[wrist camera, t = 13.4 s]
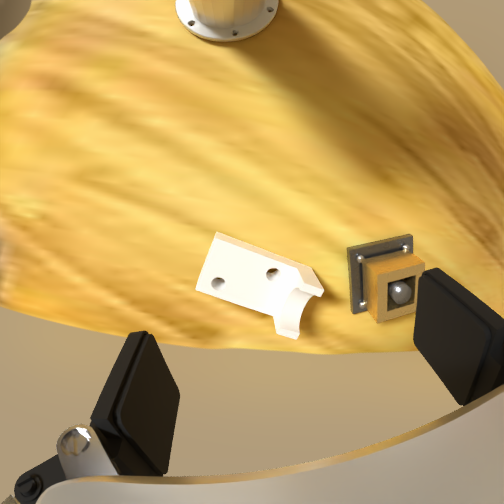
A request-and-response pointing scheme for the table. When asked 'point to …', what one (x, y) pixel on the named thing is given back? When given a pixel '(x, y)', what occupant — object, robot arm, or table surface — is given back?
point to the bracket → (259, 281)
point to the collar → (389, 270)
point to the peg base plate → (358, 253)
